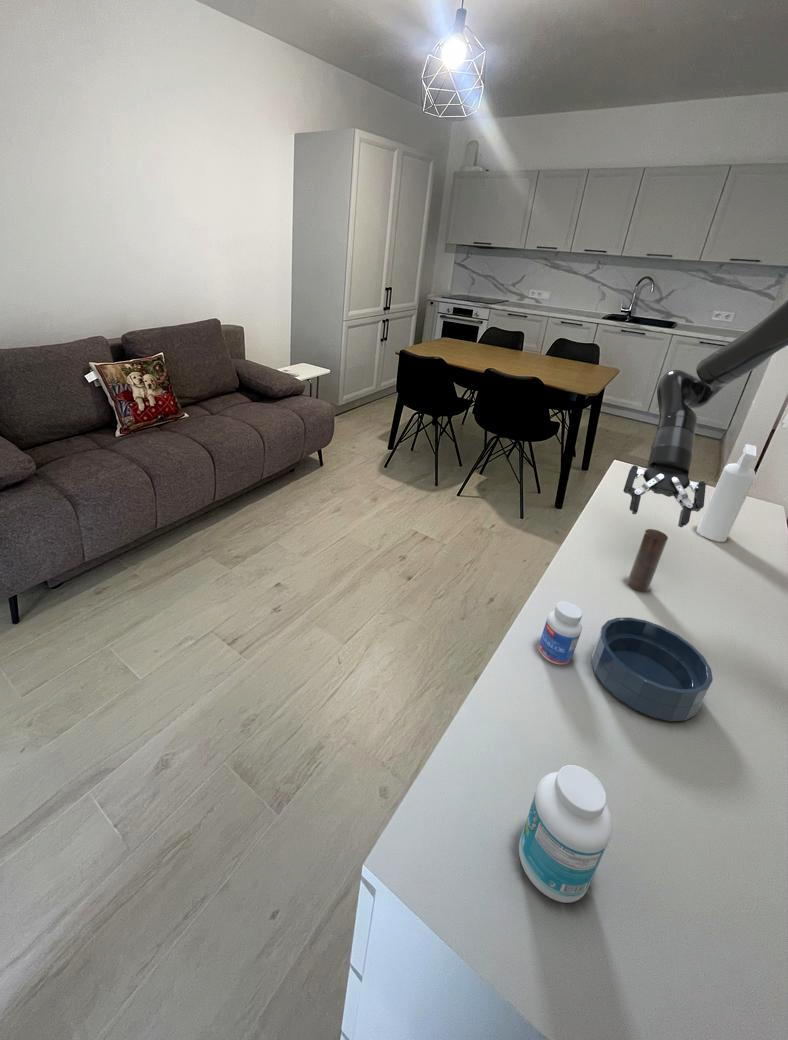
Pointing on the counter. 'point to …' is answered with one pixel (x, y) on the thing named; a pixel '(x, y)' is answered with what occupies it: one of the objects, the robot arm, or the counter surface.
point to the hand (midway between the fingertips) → (657, 519)
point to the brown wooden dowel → (647, 560)
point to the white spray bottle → (728, 497)
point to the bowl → (651, 668)
